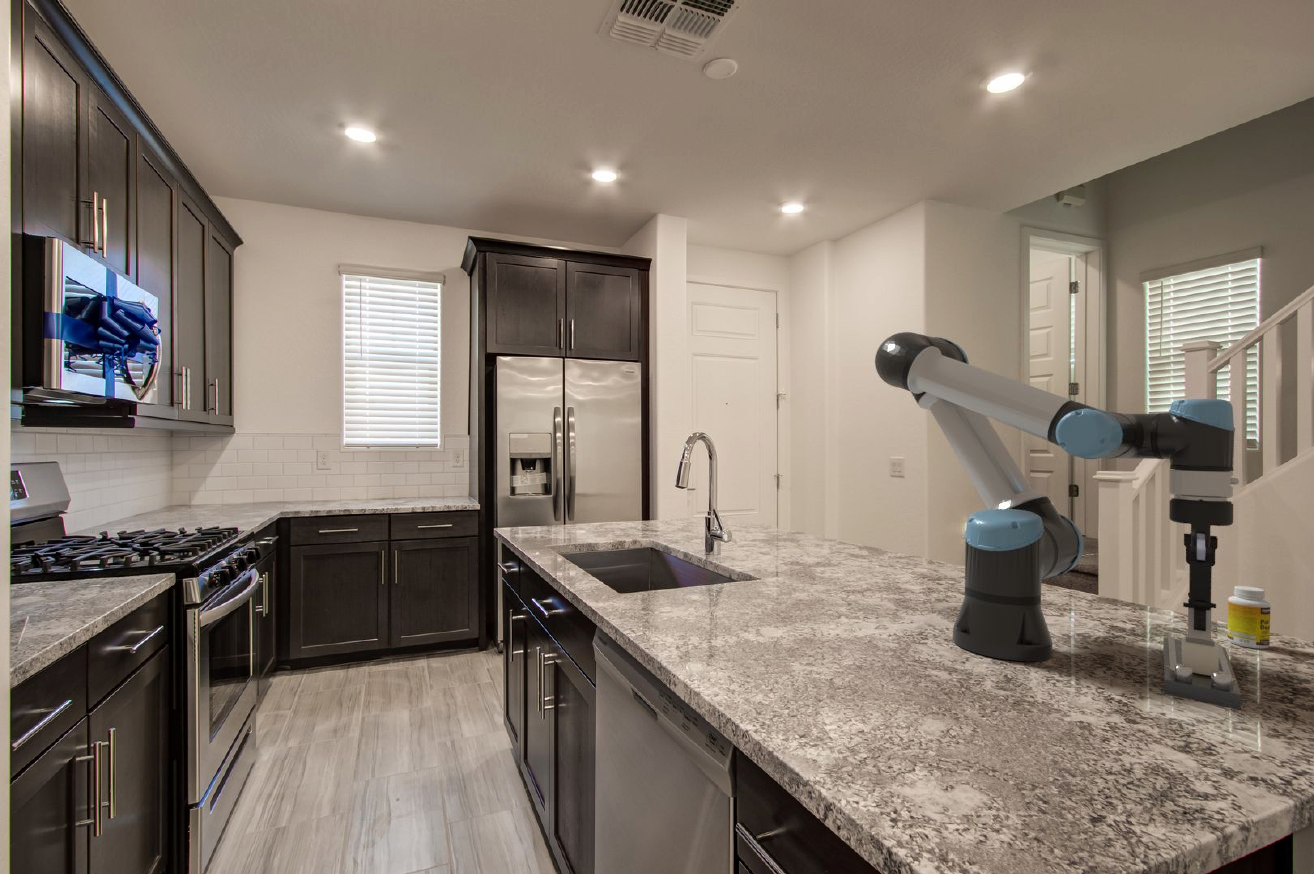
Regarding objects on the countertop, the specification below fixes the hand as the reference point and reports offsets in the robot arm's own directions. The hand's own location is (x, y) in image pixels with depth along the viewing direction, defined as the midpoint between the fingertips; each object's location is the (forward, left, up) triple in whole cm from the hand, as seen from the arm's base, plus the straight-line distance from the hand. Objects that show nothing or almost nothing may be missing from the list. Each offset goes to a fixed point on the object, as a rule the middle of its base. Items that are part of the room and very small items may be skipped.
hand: (1199, 649), depth 97 cm
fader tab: (0, -7, -2) cm, 7 cm away
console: (0, -1, -4) cm, 4 cm away
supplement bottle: (+8, +26, -4) cm, 28 cm away
